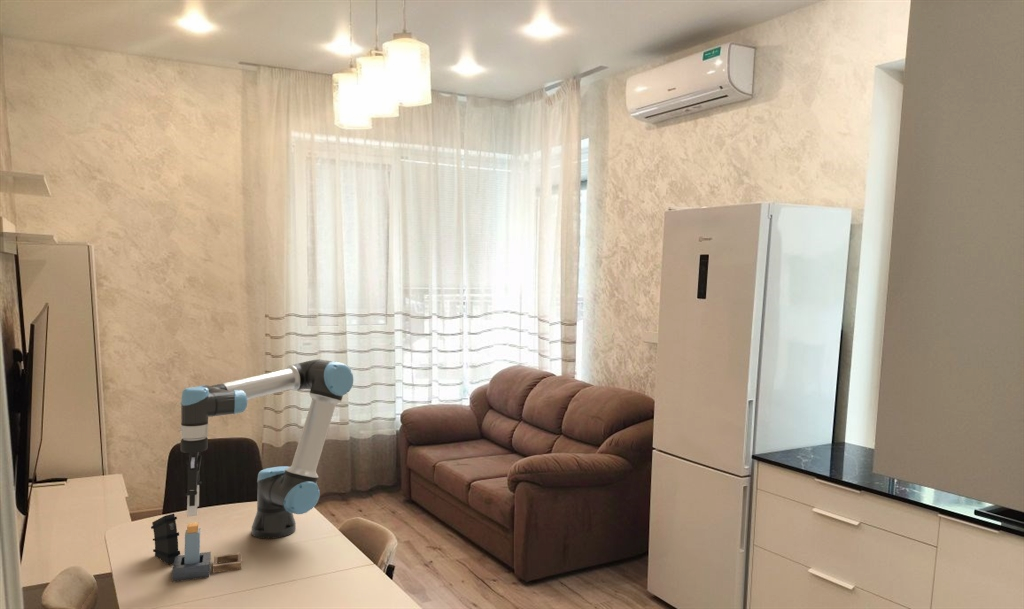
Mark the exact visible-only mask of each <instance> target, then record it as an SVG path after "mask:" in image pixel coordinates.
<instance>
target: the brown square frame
mask: <svg viewBox="0 0 1024 609" xmlns="http://www.w3.org/2000/svg"><path fill="white" fill-rule="evenodd" d="M230 561H231V562H230ZM219 562H223V563H219ZM241 569H242V553H241V552H239V553H229V554H221V555H214V556H213V564H212V573H213V572H214V573H220V572H219V571H222V572H228V570H229V571H235V570H241Z"/></svg>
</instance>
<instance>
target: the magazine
mask: <svg viewBox="0 0 1024 609" xmlns="http://www.w3.org/2000/svg"><path fill="white" fill-rule="evenodd" d="M176 520H178V516H175V513H170V514H166V515H163V516H162V517H159V518H158V519H156V520H154V521H152V525H151V526H150V528H151V529H150V530H153V535H154V538H152V541H154V549H152V550H153V551H152V552H153V553H154V557H156V558H158V560H160V561H162V562H163V563H165V564H166V565H168V566H170V565H173V564H174V560H175V556H179V555H181V551H180V550H179V540H178V538H179V536H180V532H179V531H178V529H177V523H176Z"/></svg>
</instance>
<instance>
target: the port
mask: <svg viewBox="0 0 1024 609" xmlns="http://www.w3.org/2000/svg"><path fill="white" fill-rule="evenodd" d="M211 554H212V553H211V551H205V552H200V563H194V564H187V565H184V560H185V554H182V555H181V554H180V555H178V556H175V560H174V564H172V573H171V574H172V575H171V577H172V578H171V582H172V583H175V582H176V583H177V582H183V581H190V580H197V579H198V580H199V579H206V578H205V577H207V578H209V577H210V573H211V572H210V571H211V558H212V557H211Z"/></svg>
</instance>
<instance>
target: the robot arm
mask: <svg viewBox="0 0 1024 609" xmlns="http://www.w3.org/2000/svg"><path fill="white" fill-rule="evenodd" d="M353 385H354V373H353V372H352V370H351V368H350V367H349V366H348V365H347V364H345V363H343V362H339V361H335V360H334V361H333V360H327V359H311V360H307V361H303V362H299V363H295V364H291V365H288V366H287V367H286V369H284V368H283V369H281V370H277V371H272V372H267V373H262V374H257V375H254V376H249V377H244V378H240V379H236V380H232V381H228V382H227V381H226V382H223V383H222V382H221V383H218V384H213V385H206V384H205V385H204V384H203V385H199V386H192V387H190V386H189V387H186V388H184V389H183V390H182V392H181V398H180V399H181V402H180V408H181V410H180V411H181V412H180V417H181V418H180V419H181V421H180V425H181V426H180V427H178V432H180V438H181V440H180V452H182V453H185V454H186V453H188V454H189V455H187V457H186V463H185V464H187V465H186V472H187V487H186V488H187V491H186V492H185V493H184V496H186V497H187V499H186V504H187V505H186V517H197V516H198V507H200V485H202V482H203V481H201V480H200V468H201V466H202V465H201V462H202V455H201V453H203V452H205V451H206V450H208V448H209V446H208V444H209V440H208V436H209V418H210V417H211V418H213V417H219V416H228V415H235V414H238V413H239V414H240V413H244V412H245V411H246V409H247V407H248V400H251V399H256V398H260V397H265V396H268V395H272V394H276V393H280V392H285V391H288V390H291V391H294V392H297V391H299V390H300V391H301V390H310V391H309V393H308V394H309V396H310V397H311V402H310V405H309V407H308V408H309V409H308V411H307V415H306V418H305V422H304V424H303V427H302V432H301V435H300V437H299V440H298V444H297V447H296V450H295V453H294V456H293V459H292V463H291V465H290V466H286V465H285V466H284V465H283V466H274V467H268V468H264V469H262V470H260V471H259V472H258V474H257V481H256V482H257V490H256V492H257V496H256V497H257V498H256V499H257V500H256V501H257V503H256V505H257V506H256V507H257V508H256V513H255V517H254V519H253V522H252V525H251V535H252V536H253V537H255V538H258V539H266V540H267V539H268V540H269V539H270V540H271V539H278V538H283V537H287V536H289V535H292V534H293V533H294V532H296V527H297V526H296V524H297V522H296V518H295V517H294V515H304V514H306V513H308V512H309V511H311V510H312V509H314V508H315V506H316V505H317V503H318V502H319V501H320V500H319V499H320V496H321V494H320V493H321V492H320V489H319V486H318V484H317V482H318V480H319V475H318V473H317V468H318V464H319V462H320V458H321V455H322V452H323V449H324V446H325V442H326V438H327V434H328V431H329V429H330V425H331V422H332V419H333V416H334V412H335V409H336V406H337V405H338V404H339V403H341V402H342V400H343V397H344V395H347V394H348V393H349V392H350V391H351V390H352V388H353Z"/></svg>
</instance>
